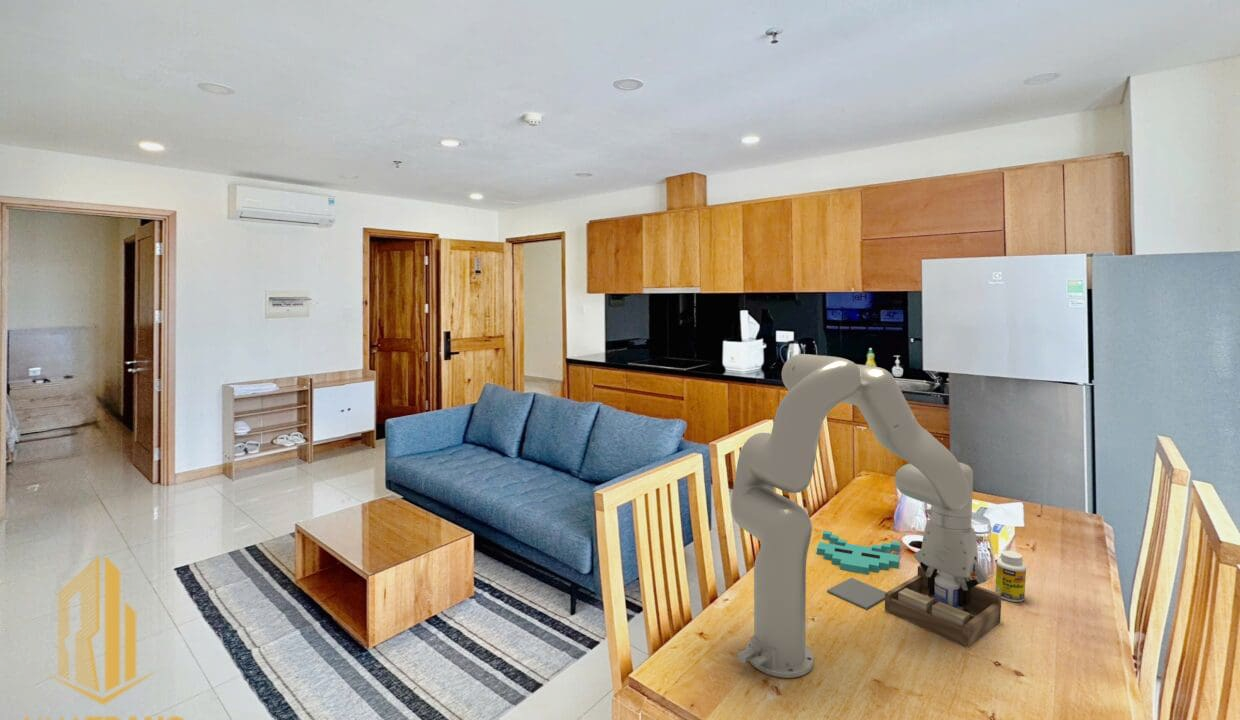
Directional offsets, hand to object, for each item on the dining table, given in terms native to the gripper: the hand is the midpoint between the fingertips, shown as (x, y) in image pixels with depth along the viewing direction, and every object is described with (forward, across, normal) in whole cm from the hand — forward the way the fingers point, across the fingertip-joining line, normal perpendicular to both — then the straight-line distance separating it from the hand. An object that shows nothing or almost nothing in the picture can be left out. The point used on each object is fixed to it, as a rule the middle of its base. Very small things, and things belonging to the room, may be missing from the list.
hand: (948, 598), depth 122 cm
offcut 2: (+3, +4, -7) cm, 8 cm away
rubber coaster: (+3, -16, -8) cm, 18 cm away
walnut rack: (+3, 0, -3) cm, 4 cm away
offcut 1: (+3, -4, -7) cm, 8 cm away
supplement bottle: (+3, +6, +18) cm, 19 cm away
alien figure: (+4, -28, +10) cm, 29 cm away
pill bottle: (+3, 0, 0) cm, 3 cm away
